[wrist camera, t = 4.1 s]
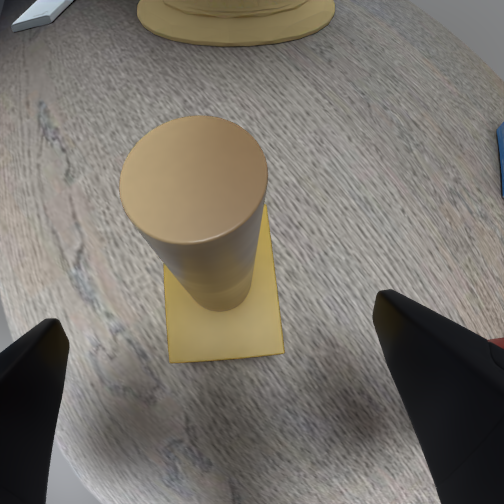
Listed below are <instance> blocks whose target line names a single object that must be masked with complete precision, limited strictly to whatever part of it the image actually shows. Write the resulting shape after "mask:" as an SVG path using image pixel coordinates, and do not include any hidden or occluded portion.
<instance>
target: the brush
mask: <svg viewBox="0 0 504 504" xmlns="http://www.w3.org/2000/svg"><path fill="white" fill-rule="evenodd" d="M267 183H268V167H267V162H266V158H265V156H264V153H263V151H262V149H261V148H260V146H259V144H258V143H257V142H256V140H255V139H254V138H253V137H252V136H251V135H250V134H249V133H248V132H247V131H246V130H244V129H243V128H242V127H240V126H238V125H236V124H235V123H233V122H230V121H228V120H225V119H222V118H218V117H212V116H200V115H199V116H187V117H182V118H178V119H174V120H171V121H169V122H166V123H164V124H162V125H160V126H158V127H156V128H154V129H153V130H151V131H150V132H149V133H147V134H146V135H145V136H144V137H142V138H141V139H140V140H139V141H138V142H137V143H136V145H135V146H134V147H133V148H132V150H131V151H130V153H129V154H128V156H127V158H126V160H125V162H124V164H123V168H122V171H121V175H120V181H119V192H120V199H121V202H122V206H123V208H124V210H125V212H126V214H127V216H128V217H129V219H130V220H131V222H132V223H133V224H134V226H135V227H136V228H137V230H138V231H139V232H140V233H141V235H142V236H143V237H144V239H145V240H146V241H147V242H148V244H149V245H150V246H151V248H152V249H153V250H154V251H155V253H156V254H157V255H158V256H159V258H160V259H161V260H162V261H163V264H164V291H165V310H166V326H167V340H168V352H169V362H170V363H189V362H205V361H219V360H231V359H242V358H252V357H261V356H270V355H279V354H284V353H285V350H284V341H283V333H282V324H281V316H280V307H279V299H278V291H277V283H276V275H275V267H274V259H273V251H272V243H271V236H270V228H269V221H268V213H267V206H266V204H264V202H265V196H266V189H267Z"/></svg>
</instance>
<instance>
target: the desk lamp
mask: <svg viewBox="0 0 504 504" xmlns="http://www.w3.org/2000/svg"><path fill="white" fill-rule="evenodd" d="M334 13H335V3H334V1H333V0H140V2H139V3H138V5H137V16H138V19H139V20H140V22H141V24H142V25H143V27H144V28H146V29H147V30H149V31H150V32H152V33H153V34H155V35H158V36H161V37H164V38H166V39H169V40H172V41H178V42H183V43H189V44H194V45H208V46H220V47H223V46H256V45H266V44H276V43H281V42H286V41H291V40H296V39H300V38H303V37H305V36H308V35H311V34H314V33H316V32H318V31H319V30H321V29H322V28H324V27H325V26H327V25H328V24H329V22H330V21H331V19H332V18H333V16H334Z"/></svg>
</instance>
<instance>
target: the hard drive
mask: <svg viewBox="0 0 504 504" xmlns="http://www.w3.org/2000/svg"><path fill="white" fill-rule="evenodd" d="M73 1H74V0H37V1H36V2H35V3H34V4H33V5H32V6H31V7H30V8H29V9H28V10H26V11H25V12H24V13H23V14H22V15H21V16H20V17H19V18H18V19H17V20H16V21H15V22H14V23H13V24H12V25H11V28H12V30H13V32H17V31H21V30H25V29H28V28H32V27H36V26H41V25H45V24H49V23H51V22H53V20H54V19H55V18H56V17H57V16H58V15H59V14H60V13H61V12H62V11H63V10H64V9H65V8H67V7H68V6H69V5H70V4H71V3H72V2H73Z"/></svg>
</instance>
